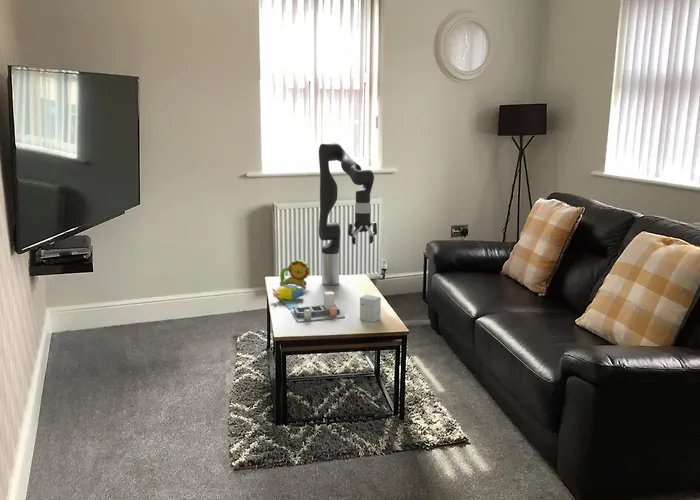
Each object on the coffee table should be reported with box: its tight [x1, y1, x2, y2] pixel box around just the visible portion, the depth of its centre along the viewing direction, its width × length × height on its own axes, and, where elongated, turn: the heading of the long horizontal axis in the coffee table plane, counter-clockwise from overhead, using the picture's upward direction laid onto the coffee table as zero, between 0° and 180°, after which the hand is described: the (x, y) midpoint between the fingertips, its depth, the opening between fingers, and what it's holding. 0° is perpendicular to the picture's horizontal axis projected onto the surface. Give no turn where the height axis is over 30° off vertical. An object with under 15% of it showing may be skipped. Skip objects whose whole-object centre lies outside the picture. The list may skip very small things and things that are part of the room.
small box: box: [359, 294, 382, 323], centre depth 283 cm, size 8×6×10 cm
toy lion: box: [279, 258, 311, 288], centre depth 329 cm, size 16×5×15 cm, turn 76°
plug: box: [323, 290, 335, 310], centre depth 291 cm, size 4×4×9 cm
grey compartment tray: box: [290, 303, 346, 324], centre depth 288 cm, size 14×22×5 cm, turn 107°
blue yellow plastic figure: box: [272, 284, 305, 311], centre depth 309 cm, size 28×9×15 cm
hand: (362, 243), depth 307 cm, fingers open, 8 cm apart
